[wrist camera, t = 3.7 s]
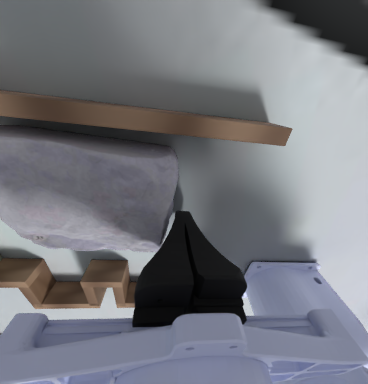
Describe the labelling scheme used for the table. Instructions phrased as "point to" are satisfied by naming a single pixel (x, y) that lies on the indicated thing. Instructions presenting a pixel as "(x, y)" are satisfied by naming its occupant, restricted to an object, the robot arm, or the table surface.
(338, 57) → the table surface
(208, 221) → the table surface
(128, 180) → the stone block
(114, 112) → the trap lane
